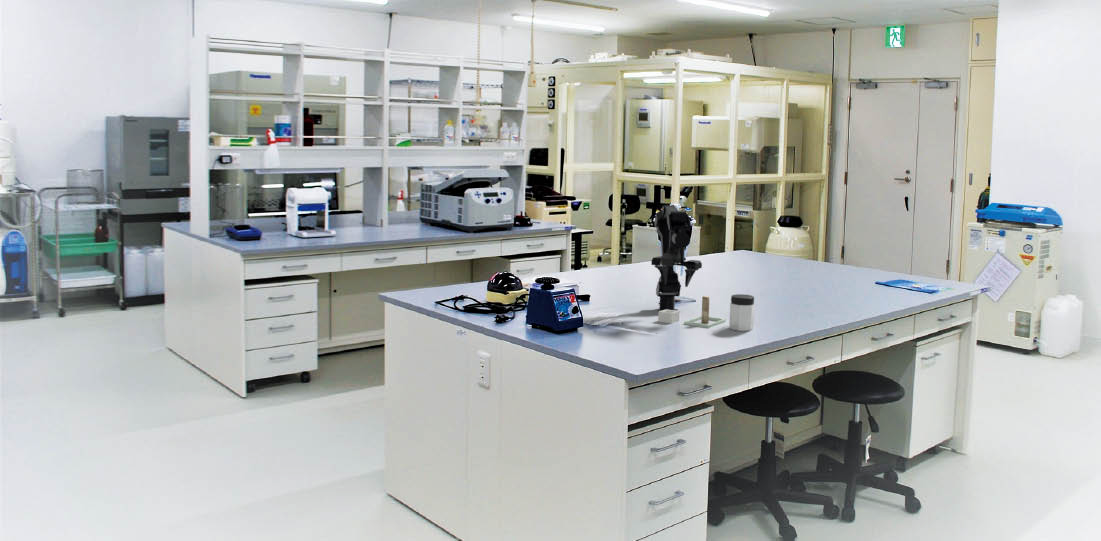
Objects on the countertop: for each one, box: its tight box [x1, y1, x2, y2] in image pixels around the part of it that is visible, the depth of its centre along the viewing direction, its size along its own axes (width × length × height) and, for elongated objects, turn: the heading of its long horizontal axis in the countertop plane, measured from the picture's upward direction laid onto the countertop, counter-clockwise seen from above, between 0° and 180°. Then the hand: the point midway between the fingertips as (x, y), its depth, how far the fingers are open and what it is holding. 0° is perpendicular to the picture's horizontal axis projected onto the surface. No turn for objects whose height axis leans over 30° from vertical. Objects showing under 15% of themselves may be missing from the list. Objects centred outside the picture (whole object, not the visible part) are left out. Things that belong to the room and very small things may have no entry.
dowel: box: [700, 295, 711, 325], centre depth 328 cm, size 3×3×10 cm
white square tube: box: [657, 309, 680, 324], centre depth 331 cm, size 6×6×4 cm
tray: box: [683, 315, 727, 329], centre depth 329 cm, size 14×10×2 cm
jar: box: [728, 293, 755, 332], centre depth 323 cm, size 9×8×12 cm
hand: (675, 285), depth 337 cm, fingers open, 9 cm apart
